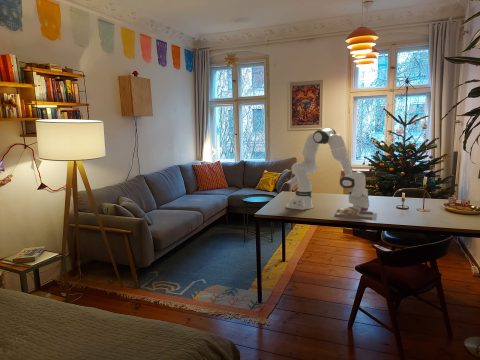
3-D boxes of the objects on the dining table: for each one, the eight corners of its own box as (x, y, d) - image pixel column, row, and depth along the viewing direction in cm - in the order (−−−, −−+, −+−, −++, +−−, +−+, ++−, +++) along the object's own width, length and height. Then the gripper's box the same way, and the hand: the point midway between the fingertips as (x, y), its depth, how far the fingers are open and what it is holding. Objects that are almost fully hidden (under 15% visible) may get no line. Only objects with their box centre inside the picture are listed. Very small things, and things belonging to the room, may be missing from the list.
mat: (333, 217, 250) (333, 214, 250) (336, 210, 268) (336, 208, 268) (376, 221, 238) (376, 218, 238) (377, 213, 256) (377, 211, 256)
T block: (353, 212, 259) (353, 206, 258) (359, 217, 247) (359, 210, 247) (338, 213, 259) (338, 207, 258) (342, 217, 247) (343, 211, 247)
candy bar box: (364, 208, 274) (364, 188, 272) (368, 209, 270) (368, 189, 267) (352, 209, 271) (352, 189, 269) (355, 210, 267) (356, 190, 264)
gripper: (371, 195, 241) (371, 214, 243) (354, 190, 260) (353, 207, 262) (364, 196, 239) (363, 215, 241) (347, 191, 258) (346, 208, 261)
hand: (358, 211), depth 252 cm, fingers closed
